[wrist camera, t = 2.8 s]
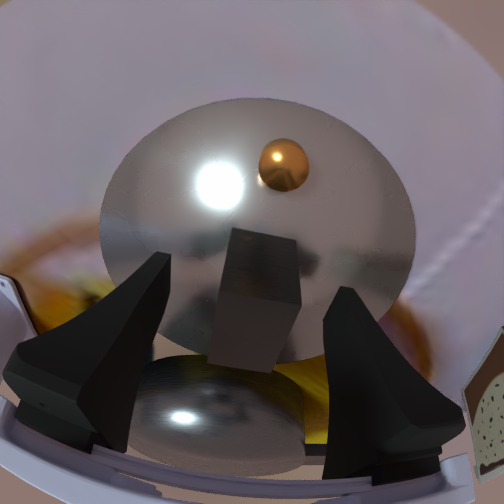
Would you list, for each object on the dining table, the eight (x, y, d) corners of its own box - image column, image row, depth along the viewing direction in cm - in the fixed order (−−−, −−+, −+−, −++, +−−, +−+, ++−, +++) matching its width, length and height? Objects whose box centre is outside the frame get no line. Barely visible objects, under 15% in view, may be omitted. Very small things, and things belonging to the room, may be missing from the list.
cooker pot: (121, 406, 25) (109, 449, 21) (93, 326, 17) (63, 390, 13) (302, 436, 26) (302, 480, 22) (363, 373, 18) (374, 439, 14)
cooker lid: (122, 324, 17) (97, 384, 14) (109, 77, 9) (32, 100, 5) (339, 362, 18) (347, 424, 15) (454, 157, 10) (518, 210, 6)
